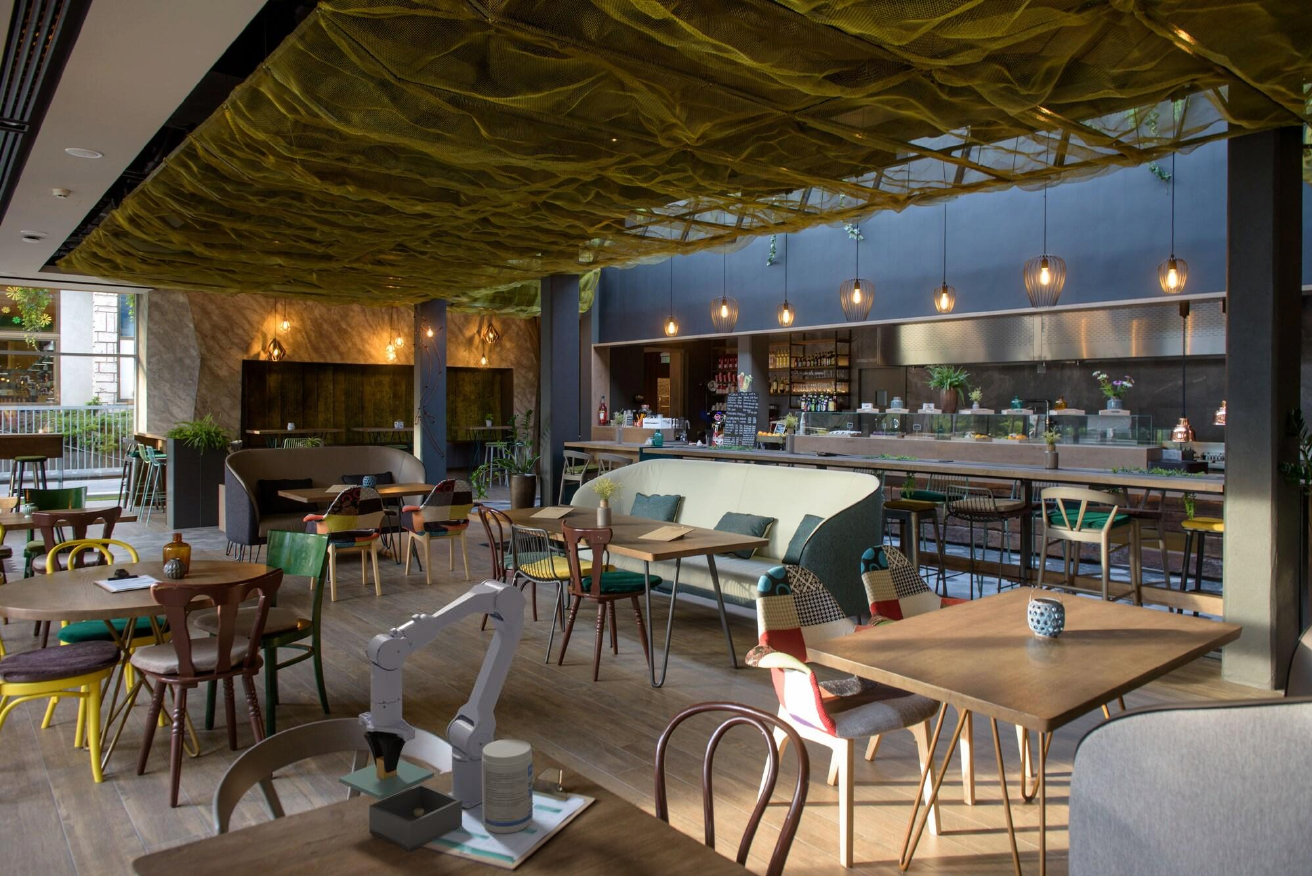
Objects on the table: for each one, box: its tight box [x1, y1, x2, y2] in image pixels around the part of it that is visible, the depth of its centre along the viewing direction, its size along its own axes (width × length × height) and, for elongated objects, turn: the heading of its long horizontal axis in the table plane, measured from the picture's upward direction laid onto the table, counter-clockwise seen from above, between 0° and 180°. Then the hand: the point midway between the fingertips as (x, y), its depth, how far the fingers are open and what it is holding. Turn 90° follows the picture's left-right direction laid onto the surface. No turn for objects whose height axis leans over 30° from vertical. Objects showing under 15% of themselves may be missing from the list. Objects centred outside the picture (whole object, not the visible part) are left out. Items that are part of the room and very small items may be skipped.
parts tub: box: [368, 782, 463, 853], centre depth 163 cm, size 12×12×5 cm
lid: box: [338, 756, 435, 801], centre depth 165 cm, size 12×12×5 cm
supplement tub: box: [481, 738, 534, 834], centre depth 165 cm, size 10×10×15 cm
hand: (386, 769), depth 165 cm, fingers closed on lid, 2 cm apart
